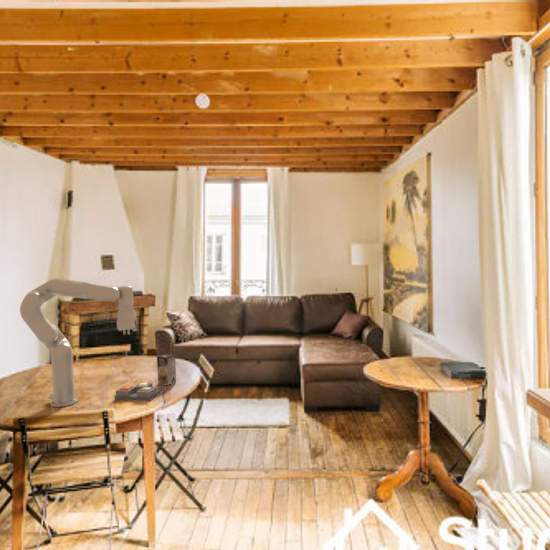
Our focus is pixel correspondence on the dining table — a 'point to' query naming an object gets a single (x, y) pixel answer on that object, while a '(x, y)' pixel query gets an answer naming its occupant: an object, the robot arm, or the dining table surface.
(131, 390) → the button panel
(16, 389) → the dining table surface
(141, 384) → the button cream
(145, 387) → the button sage
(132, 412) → the dining table surface
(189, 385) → the dining table surface
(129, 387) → the button red
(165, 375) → the coffee box
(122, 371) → the dining table surface
